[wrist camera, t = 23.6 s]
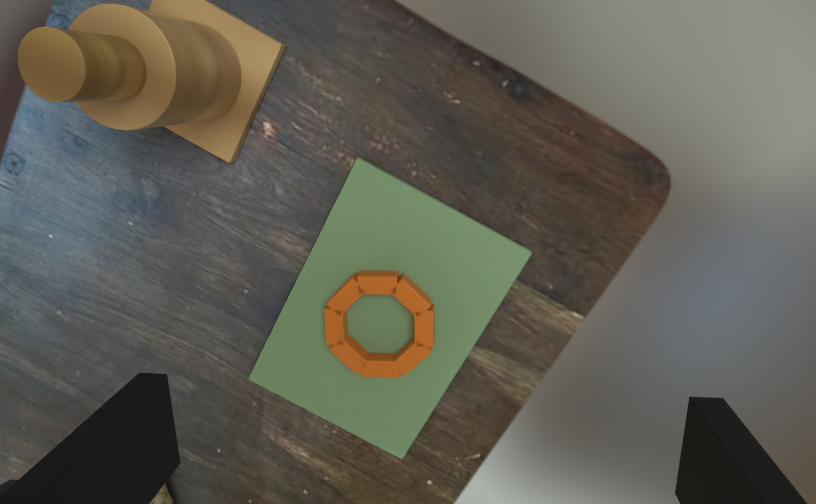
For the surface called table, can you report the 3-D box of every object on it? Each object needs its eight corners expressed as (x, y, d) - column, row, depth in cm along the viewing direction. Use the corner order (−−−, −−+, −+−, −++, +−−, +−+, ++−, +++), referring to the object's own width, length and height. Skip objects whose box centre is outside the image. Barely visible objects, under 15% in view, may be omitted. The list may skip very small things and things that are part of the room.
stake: (168, -23, 38) (-14, -89, 24) (286, 45, 38) (177, 20, 24) (123, 99, 41) (-66, 106, 26) (234, 161, 41) (108, 201, 27)
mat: (358, 156, 40) (357, 157, 40) (531, 250, 41) (532, 252, 40) (249, 376, 46) (247, 379, 45) (402, 456, 46) (402, 459, 46)
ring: (326, 269, 42) (321, 275, 41) (434, 270, 41) (433, 276, 40) (332, 367, 44) (328, 376, 43) (435, 370, 43) (434, 379, 42)
